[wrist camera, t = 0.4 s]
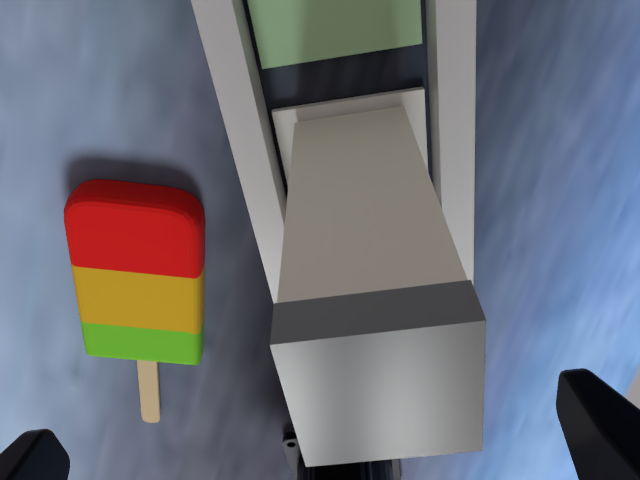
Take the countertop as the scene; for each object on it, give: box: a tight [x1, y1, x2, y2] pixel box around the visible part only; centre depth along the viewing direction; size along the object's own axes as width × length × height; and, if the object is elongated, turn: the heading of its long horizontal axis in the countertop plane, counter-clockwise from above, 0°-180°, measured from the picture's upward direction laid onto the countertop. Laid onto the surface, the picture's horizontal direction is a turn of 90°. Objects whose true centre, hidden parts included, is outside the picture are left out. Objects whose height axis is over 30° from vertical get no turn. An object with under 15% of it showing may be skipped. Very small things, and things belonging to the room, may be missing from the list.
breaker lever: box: [270, 106, 486, 467], centre depth 16 cm, size 4×4×11 cm
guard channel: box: [191, 0, 476, 303], centre depth 19 cm, size 16×8×2 cm, turn 9°
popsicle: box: [64, 179, 205, 423], centre depth 25 cm, size 6×15×2 cm, turn 172°
